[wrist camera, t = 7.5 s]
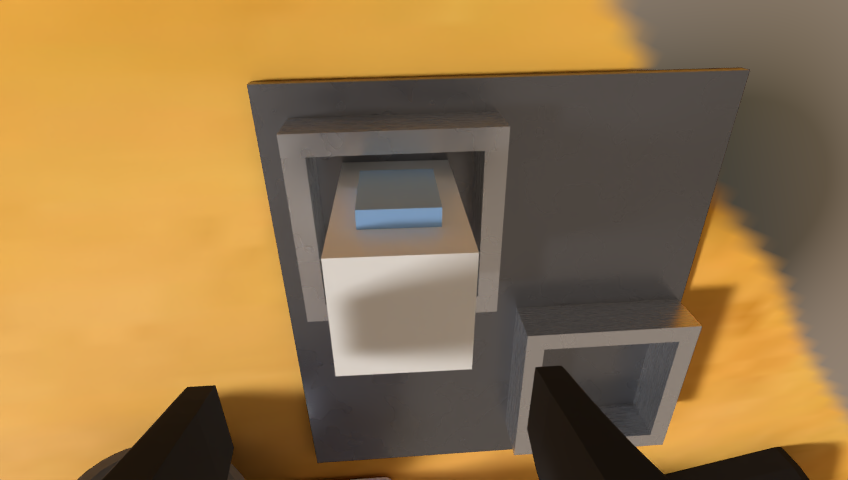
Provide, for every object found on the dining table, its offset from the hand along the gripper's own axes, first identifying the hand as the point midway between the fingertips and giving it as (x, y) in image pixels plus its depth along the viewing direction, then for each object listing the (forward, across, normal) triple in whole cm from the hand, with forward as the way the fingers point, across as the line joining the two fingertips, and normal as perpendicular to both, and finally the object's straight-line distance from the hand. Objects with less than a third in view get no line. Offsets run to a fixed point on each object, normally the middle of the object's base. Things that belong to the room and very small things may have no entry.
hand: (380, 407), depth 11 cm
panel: (+10, -5, +4) cm, 12 cm away
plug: (+10, -1, 0) cm, 10 cm away
